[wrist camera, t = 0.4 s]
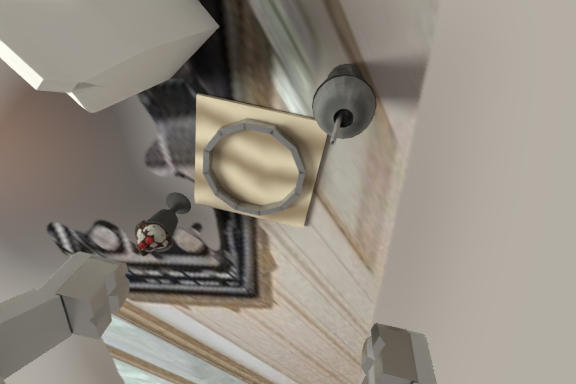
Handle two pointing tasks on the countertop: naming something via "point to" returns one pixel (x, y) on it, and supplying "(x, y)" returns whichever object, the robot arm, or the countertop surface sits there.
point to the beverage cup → (344, 103)
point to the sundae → (161, 225)
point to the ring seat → (256, 159)
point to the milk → (100, 44)
